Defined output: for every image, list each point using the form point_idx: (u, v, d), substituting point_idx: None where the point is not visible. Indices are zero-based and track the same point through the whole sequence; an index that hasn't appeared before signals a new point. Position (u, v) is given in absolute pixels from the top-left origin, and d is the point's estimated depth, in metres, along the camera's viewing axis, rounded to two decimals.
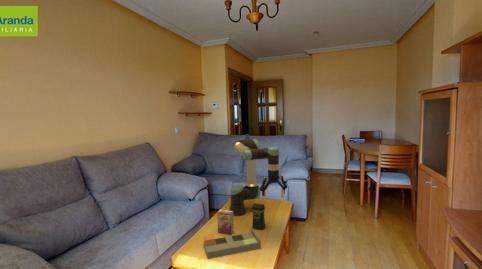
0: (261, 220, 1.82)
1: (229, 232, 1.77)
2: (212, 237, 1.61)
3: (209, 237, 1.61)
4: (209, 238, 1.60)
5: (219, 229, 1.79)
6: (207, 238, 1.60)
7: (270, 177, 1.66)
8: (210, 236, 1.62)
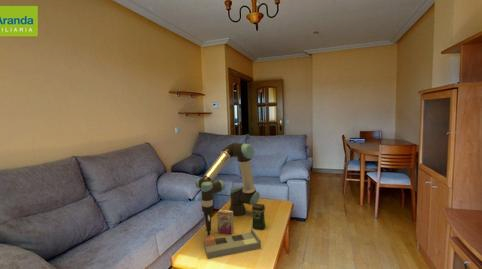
0: (261, 220, 1.82)
1: (229, 232, 1.77)
2: (212, 237, 1.61)
3: (209, 237, 1.61)
4: (209, 238, 1.60)
5: (219, 229, 1.79)
6: (207, 238, 1.60)
7: None
8: (210, 237, 1.62)
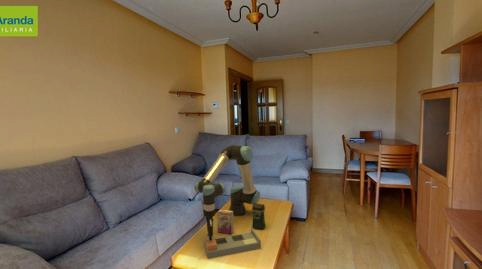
0: (261, 220, 1.82)
1: (229, 232, 1.77)
2: (214, 242, 1.54)
3: (210, 243, 1.54)
4: (211, 243, 1.53)
5: (219, 229, 1.79)
6: (209, 243, 1.53)
7: None
8: (212, 242, 1.55)
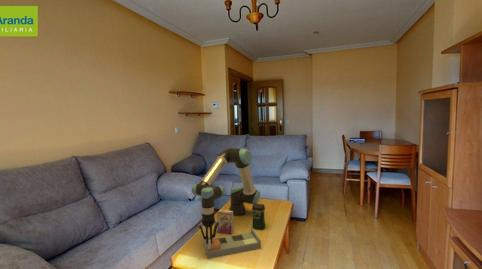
0: (261, 220, 1.82)
1: (229, 232, 1.77)
2: (217, 242, 1.55)
3: (214, 242, 1.55)
4: (214, 243, 1.54)
5: (219, 229, 1.79)
6: (212, 243, 1.54)
7: (203, 221, 1.50)
8: (215, 241, 1.56)
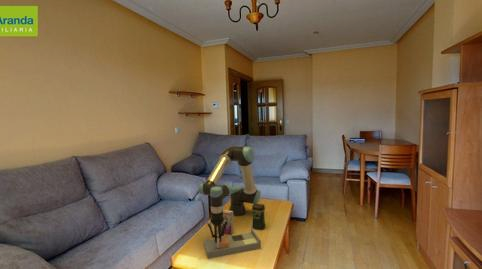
0: (261, 220, 1.82)
1: (229, 232, 1.77)
2: (226, 241, 1.56)
3: (222, 241, 1.56)
4: (223, 242, 1.55)
5: None
6: (221, 242, 1.55)
7: (212, 220, 1.51)
8: (224, 240, 1.57)
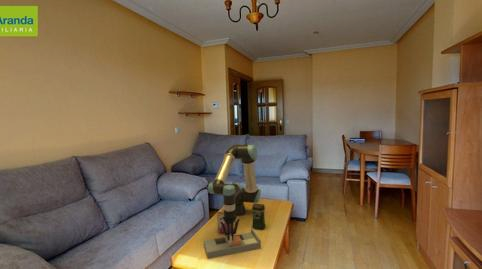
0: (261, 220, 1.82)
1: None
2: (238, 238, 1.59)
3: (235, 239, 1.58)
4: (235, 239, 1.57)
5: (219, 229, 1.79)
6: (233, 239, 1.57)
7: (225, 218, 1.54)
8: (236, 238, 1.59)
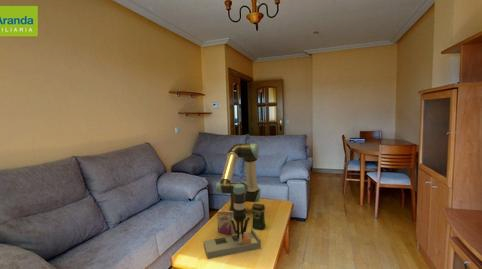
0: (261, 220, 1.82)
1: (229, 232, 1.77)
2: (248, 237, 1.60)
3: (245, 237, 1.60)
4: (245, 238, 1.59)
5: (219, 229, 1.79)
6: (243, 238, 1.59)
7: (235, 216, 1.56)
8: (246, 236, 1.61)
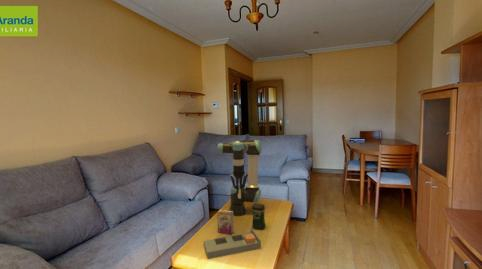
0: (261, 220, 1.82)
1: (229, 232, 1.77)
2: (252, 236, 1.61)
3: (249, 236, 1.61)
4: (249, 237, 1.60)
5: (219, 229, 1.79)
6: (247, 237, 1.60)
7: (234, 172, 1.66)
8: (250, 235, 1.62)
